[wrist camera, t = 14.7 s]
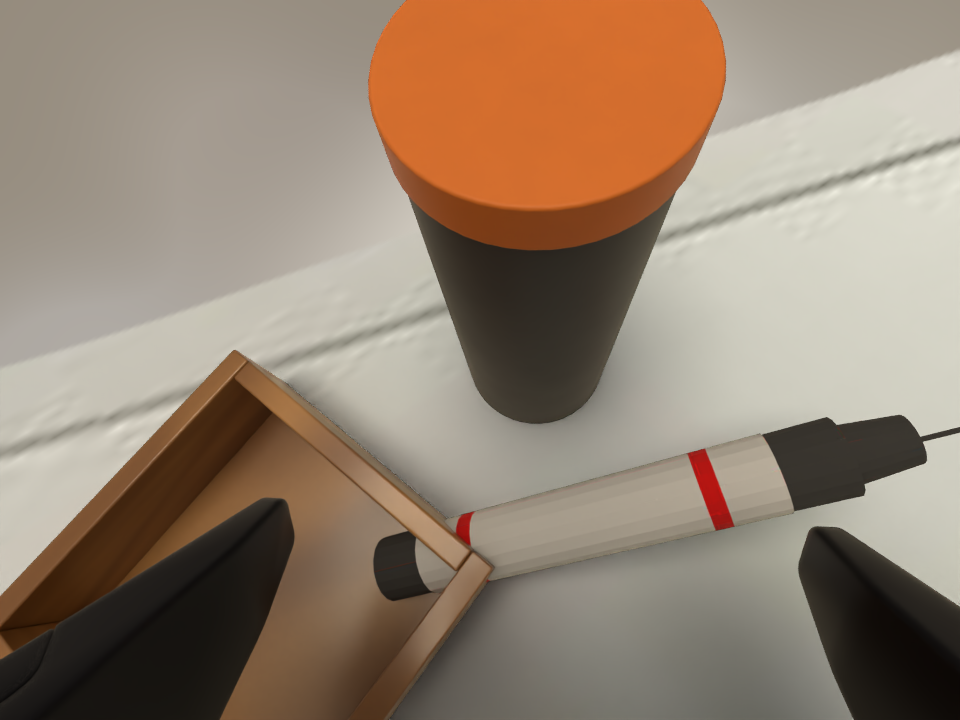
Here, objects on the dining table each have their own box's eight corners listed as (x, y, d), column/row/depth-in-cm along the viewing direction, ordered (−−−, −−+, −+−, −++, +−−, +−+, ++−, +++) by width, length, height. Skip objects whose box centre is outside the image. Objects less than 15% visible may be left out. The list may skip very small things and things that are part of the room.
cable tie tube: (633, 377, 18) (811, 83, 7) (515, 453, 18) (483, 278, 6) (553, 275, 20) (584, -104, 8) (443, 342, 20) (310, 37, 8)
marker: (412, 596, 17) (377, 607, 15) (402, 534, 18) (368, 537, 16) (970, 471, 12) (1014, 465, 10) (926, 392, 13) (961, 375, 11)
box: (501, 563, 17) (493, 568, 13) (276, 875, 15) (202, 971, 11) (283, 381, 20) (233, 347, 16) (68, 618, 17) (-39, 634, 14)
